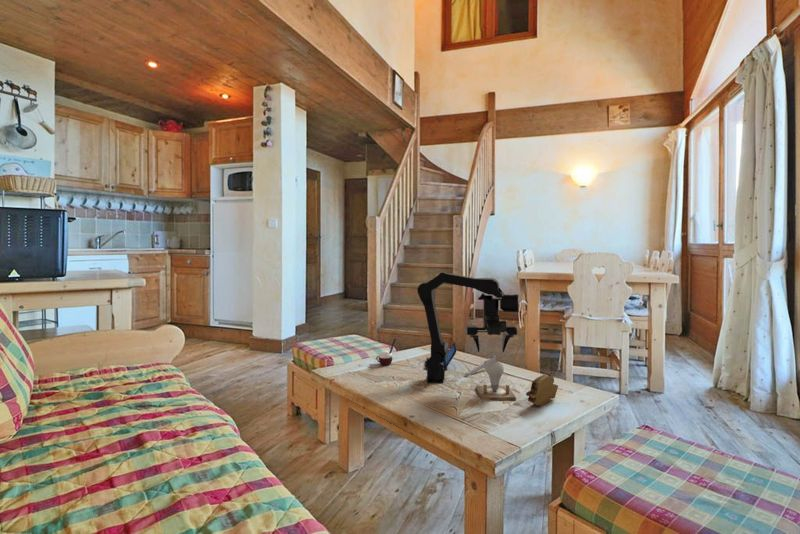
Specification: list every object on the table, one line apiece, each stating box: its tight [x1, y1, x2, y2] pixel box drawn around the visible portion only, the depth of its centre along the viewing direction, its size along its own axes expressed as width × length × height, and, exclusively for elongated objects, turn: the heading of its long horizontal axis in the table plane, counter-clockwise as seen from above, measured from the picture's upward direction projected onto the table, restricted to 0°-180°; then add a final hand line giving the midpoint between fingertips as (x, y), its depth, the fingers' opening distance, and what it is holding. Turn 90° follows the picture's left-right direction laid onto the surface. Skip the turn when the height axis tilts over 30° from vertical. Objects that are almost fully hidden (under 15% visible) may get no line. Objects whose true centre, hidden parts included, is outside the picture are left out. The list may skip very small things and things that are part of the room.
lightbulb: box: [485, 360, 504, 391], centre depth 154 cm, size 6×6×11 cm
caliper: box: [463, 353, 497, 377], centre depth 180 cm, size 20×1×6 cm, turn 131°
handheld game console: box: [425, 341, 457, 371], centre depth 190 cm, size 16×13×9 cm
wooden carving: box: [525, 374, 559, 407], centre depth 144 cm, size 16×5×10 cm, turn 134°
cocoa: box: [375, 338, 397, 366], centre depth 192 cm, size 10×6×12 cm, turn 48°
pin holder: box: [475, 384, 517, 401], centre depth 154 cm, size 12×12×4 cm
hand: (490, 352), depth 162 cm, fingers open, 9 cm apart
